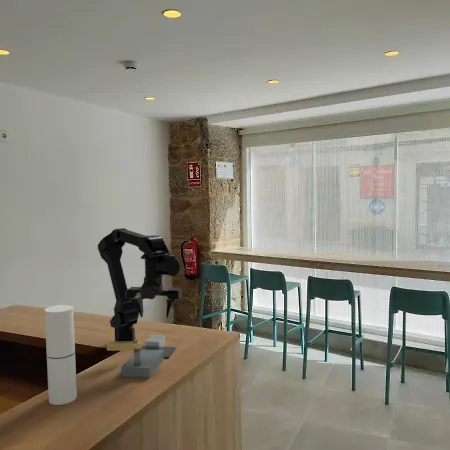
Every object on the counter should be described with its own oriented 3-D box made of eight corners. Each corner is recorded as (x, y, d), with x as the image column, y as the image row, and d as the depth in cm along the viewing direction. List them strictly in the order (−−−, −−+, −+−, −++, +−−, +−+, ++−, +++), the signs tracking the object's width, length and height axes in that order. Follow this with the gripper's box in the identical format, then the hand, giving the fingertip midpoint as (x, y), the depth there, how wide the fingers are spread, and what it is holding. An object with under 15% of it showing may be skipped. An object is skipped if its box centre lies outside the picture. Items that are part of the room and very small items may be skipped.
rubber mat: (134, 356, 149) (134, 355, 149) (143, 347, 158) (143, 345, 158) (168, 358, 147) (168, 356, 147) (175, 348, 156) (175, 347, 156)
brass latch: (140, 350, 133) (140, 343, 133) (106, 350, 133) (106, 343, 133) (142, 347, 135) (142, 340, 135) (108, 347, 136) (108, 340, 135)
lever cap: (145, 354, 149) (144, 341, 149) (151, 347, 156) (151, 334, 156) (159, 355, 149) (159, 342, 148) (165, 347, 156) (164, 335, 155)
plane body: (121, 376, 134) (120, 352, 133) (138, 357, 148) (137, 335, 148) (149, 377, 132) (149, 353, 132) (164, 358, 147) (163, 336, 146)
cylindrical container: (50, 407, 115) (46, 313, 113) (47, 396, 121) (43, 307, 119) (78, 400, 118) (75, 309, 116) (74, 390, 125) (71, 303, 123)
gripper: (118, 276, 144) (119, 323, 145) (173, 277, 141) (174, 325, 142) (130, 270, 155) (131, 314, 156) (182, 271, 152) (183, 315, 153)
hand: (154, 317), depth 152 cm, fingers open, 9 cm apart
